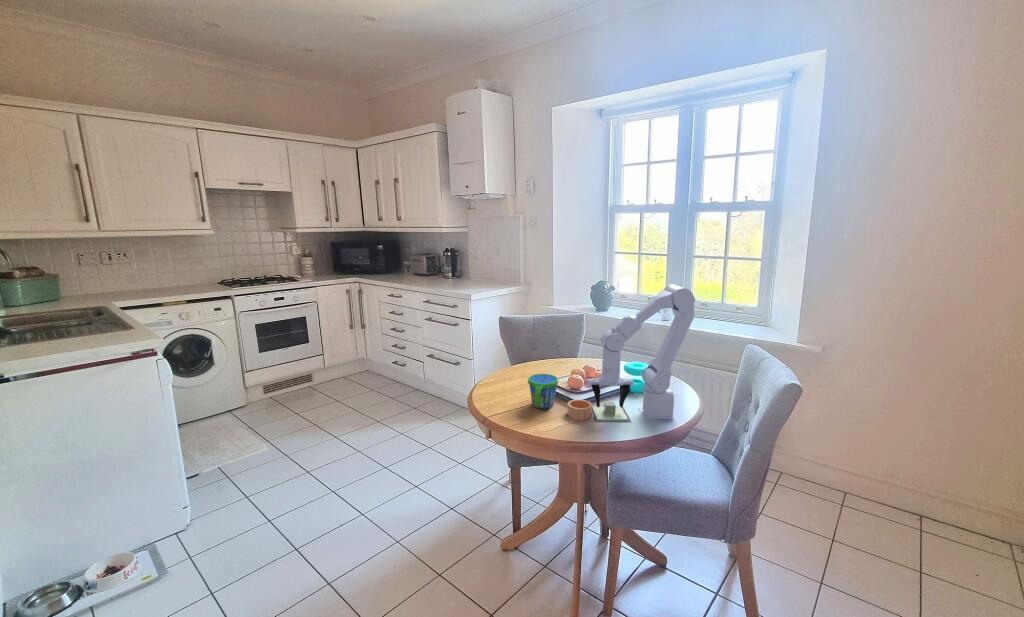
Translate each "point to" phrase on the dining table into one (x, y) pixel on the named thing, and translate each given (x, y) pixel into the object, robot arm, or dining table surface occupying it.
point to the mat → (611, 421)
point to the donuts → (636, 370)
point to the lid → (609, 412)
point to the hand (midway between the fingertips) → (609, 406)
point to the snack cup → (543, 390)
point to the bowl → (579, 409)
